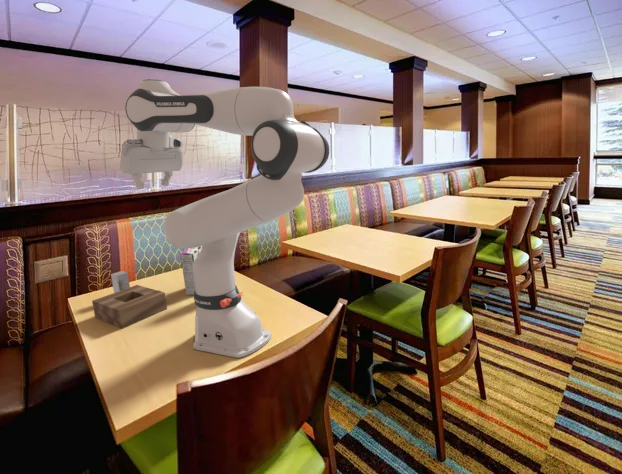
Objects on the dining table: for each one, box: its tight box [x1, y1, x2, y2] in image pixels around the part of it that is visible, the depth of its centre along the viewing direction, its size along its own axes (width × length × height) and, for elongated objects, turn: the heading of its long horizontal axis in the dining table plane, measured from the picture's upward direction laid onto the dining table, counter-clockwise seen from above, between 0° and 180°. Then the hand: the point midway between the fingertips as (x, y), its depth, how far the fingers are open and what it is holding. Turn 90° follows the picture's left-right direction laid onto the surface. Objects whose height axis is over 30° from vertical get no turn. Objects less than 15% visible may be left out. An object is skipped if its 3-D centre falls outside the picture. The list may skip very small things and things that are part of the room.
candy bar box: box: [180, 246, 202, 296], centre depth 140 cm, size 11×5×16 cm, turn 179°
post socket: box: [91, 284, 168, 329], centre depth 123 cm, size 16×16×6 cm
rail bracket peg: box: [110, 270, 131, 293], centre depth 135 cm, size 4×4×10 cm
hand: (153, 186), depth 110 cm, fingers open, 8 cm apart
